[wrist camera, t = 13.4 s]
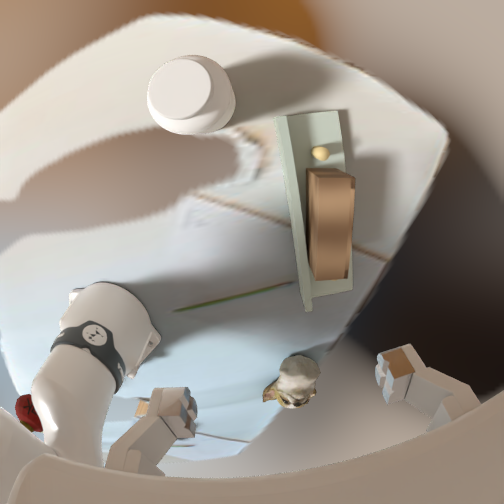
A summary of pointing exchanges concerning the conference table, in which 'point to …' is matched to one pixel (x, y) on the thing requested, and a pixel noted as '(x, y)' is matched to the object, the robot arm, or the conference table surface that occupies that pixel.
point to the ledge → (294, 171)
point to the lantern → (28, 414)
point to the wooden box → (329, 222)
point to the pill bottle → (191, 96)
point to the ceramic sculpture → (294, 382)
